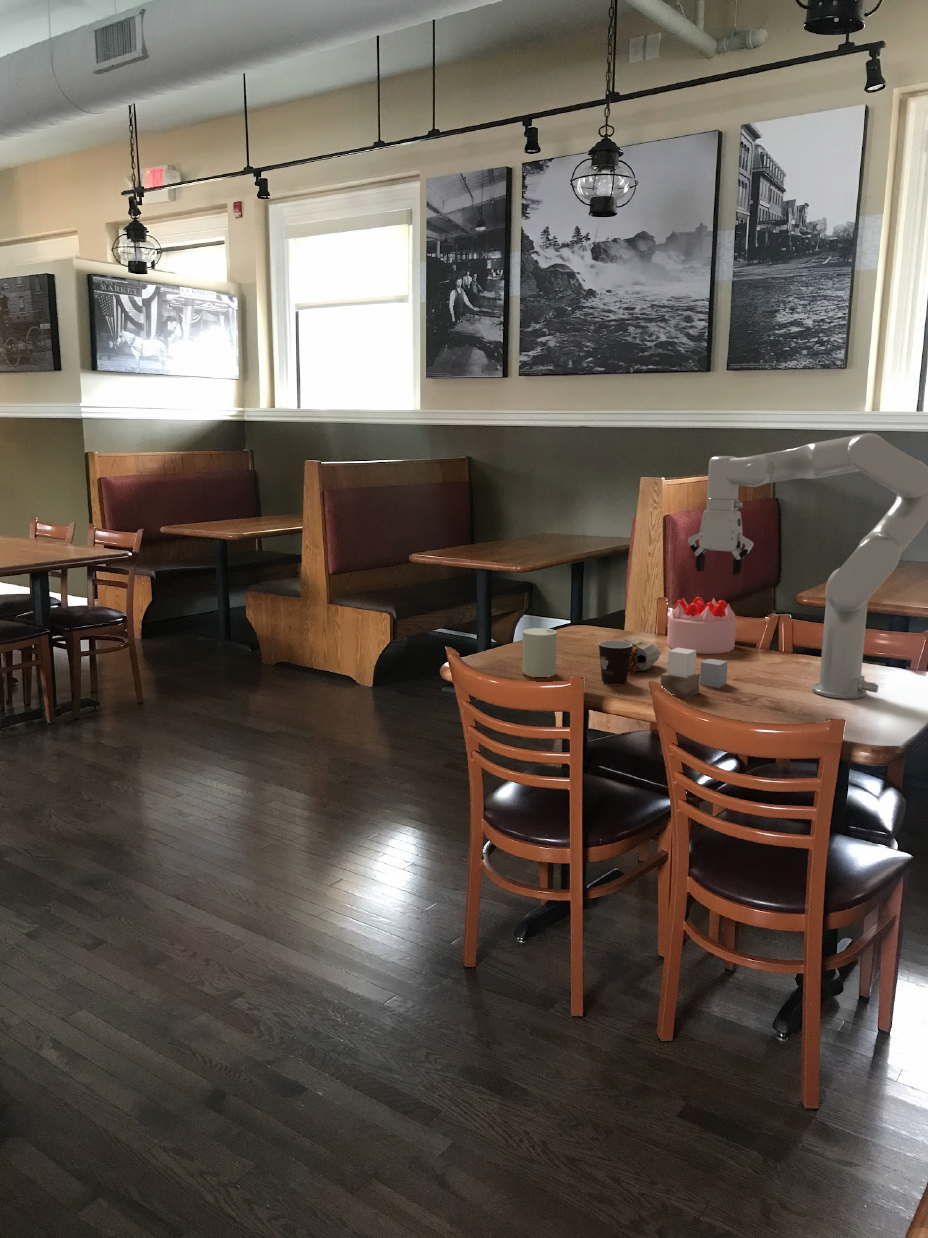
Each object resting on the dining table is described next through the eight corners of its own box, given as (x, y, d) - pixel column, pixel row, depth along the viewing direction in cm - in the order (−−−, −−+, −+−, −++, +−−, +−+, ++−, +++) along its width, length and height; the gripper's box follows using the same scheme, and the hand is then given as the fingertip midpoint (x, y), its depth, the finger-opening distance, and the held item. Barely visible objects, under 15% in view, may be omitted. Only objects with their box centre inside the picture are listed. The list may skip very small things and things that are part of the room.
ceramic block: (695, 673, 241) (696, 650, 239) (686, 677, 237) (687, 654, 236) (676, 670, 244) (677, 647, 242) (667, 674, 240) (668, 651, 239)
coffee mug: (594, 677, 255) (595, 640, 253) (626, 677, 256) (628, 640, 254) (603, 689, 244) (605, 650, 242) (637, 689, 244) (639, 650, 242)
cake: (655, 648, 290) (657, 601, 287) (686, 637, 305) (688, 592, 302) (716, 658, 277) (718, 609, 275) (745, 646, 292) (748, 599, 290)
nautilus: (642, 684, 252) (589, 679, 259) (670, 661, 269) (619, 658, 277) (641, 654, 250) (587, 650, 257) (669, 634, 268) (618, 631, 275)
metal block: (698, 693, 242) (699, 673, 241) (686, 699, 236) (687, 679, 235) (673, 688, 246) (673, 669, 245) (660, 694, 241) (661, 674, 240)
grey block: (726, 684, 250) (727, 661, 249) (718, 688, 246) (719, 665, 245) (708, 680, 253) (709, 658, 252) (699, 684, 249) (700, 662, 248)
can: (558, 678, 255) (559, 633, 253) (522, 677, 255) (523, 633, 253) (554, 669, 264) (555, 626, 262) (520, 669, 264) (521, 626, 262)
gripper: (760, 506, 242) (756, 574, 246) (696, 502, 253) (693, 567, 256) (749, 508, 237) (744, 577, 240) (683, 504, 247) (680, 571, 250)
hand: (718, 572), depth 248 cm, fingers open, 9 cm apart
